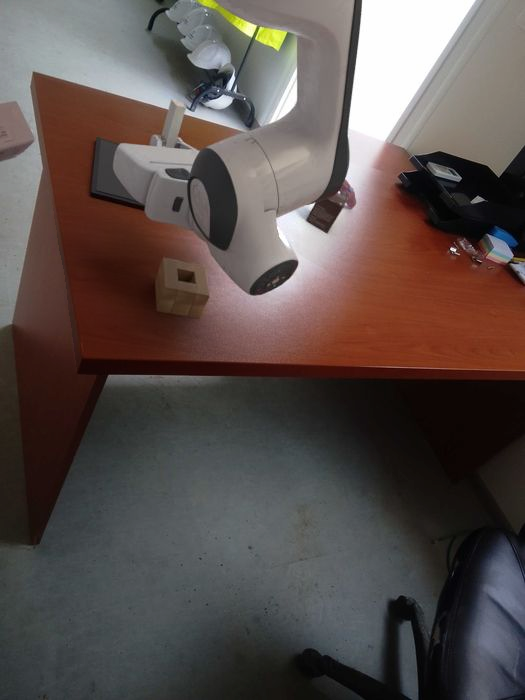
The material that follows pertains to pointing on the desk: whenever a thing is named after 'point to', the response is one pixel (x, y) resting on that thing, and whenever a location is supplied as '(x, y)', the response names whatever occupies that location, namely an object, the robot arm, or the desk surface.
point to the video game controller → (348, 194)
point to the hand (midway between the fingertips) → (164, 140)
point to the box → (326, 212)
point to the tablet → (109, 177)
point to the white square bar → (173, 122)
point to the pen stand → (181, 288)
